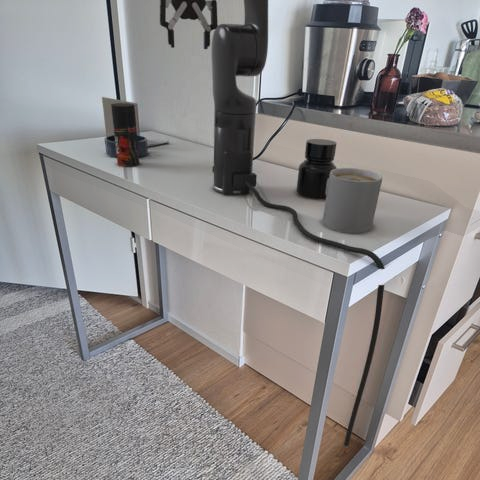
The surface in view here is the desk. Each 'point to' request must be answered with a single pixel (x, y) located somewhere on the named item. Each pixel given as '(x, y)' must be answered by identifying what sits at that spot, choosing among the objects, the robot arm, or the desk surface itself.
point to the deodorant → (125, 134)
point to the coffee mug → (351, 200)
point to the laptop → (109, 119)
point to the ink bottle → (316, 168)
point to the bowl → (112, 147)
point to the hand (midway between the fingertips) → (189, 48)
